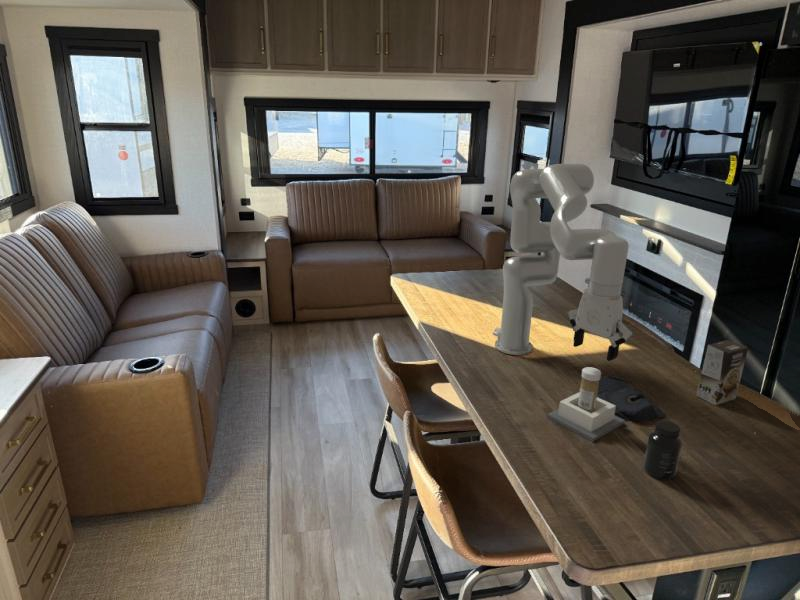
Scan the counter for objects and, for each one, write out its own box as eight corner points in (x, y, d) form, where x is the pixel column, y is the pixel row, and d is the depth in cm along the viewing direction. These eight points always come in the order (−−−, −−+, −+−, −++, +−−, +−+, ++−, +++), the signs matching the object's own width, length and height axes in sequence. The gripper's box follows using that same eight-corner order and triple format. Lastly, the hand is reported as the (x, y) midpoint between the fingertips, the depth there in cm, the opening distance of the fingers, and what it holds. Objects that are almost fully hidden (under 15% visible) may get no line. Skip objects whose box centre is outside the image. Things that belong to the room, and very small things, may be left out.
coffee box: (716, 406, 158) (728, 353, 152) (695, 395, 163) (706, 344, 157) (736, 399, 162) (749, 347, 156) (715, 389, 167) (727, 338, 161)
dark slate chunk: (625, 382, 171) (628, 367, 169) (668, 421, 151) (672, 405, 149) (577, 385, 169) (579, 370, 167) (614, 425, 148) (617, 409, 147)
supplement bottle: (637, 462, 132) (645, 417, 128) (665, 461, 133) (674, 416, 129) (652, 481, 126) (661, 434, 122) (681, 480, 126) (691, 433, 122)
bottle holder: (546, 417, 150) (548, 400, 149) (578, 401, 158) (580, 385, 157) (592, 441, 140) (595, 424, 138) (624, 423, 148) (627, 406, 146)
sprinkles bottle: (597, 418, 148) (605, 371, 144) (586, 423, 146) (593, 376, 142) (583, 410, 152) (590, 364, 148) (572, 415, 150) (578, 369, 145)
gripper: (565, 281, 141) (556, 343, 147) (628, 302, 128) (616, 369, 135) (583, 275, 145) (574, 336, 152) (646, 295, 133) (633, 361, 139)
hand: (594, 352), depth 143 cm, fingers open, 9 cm apart
